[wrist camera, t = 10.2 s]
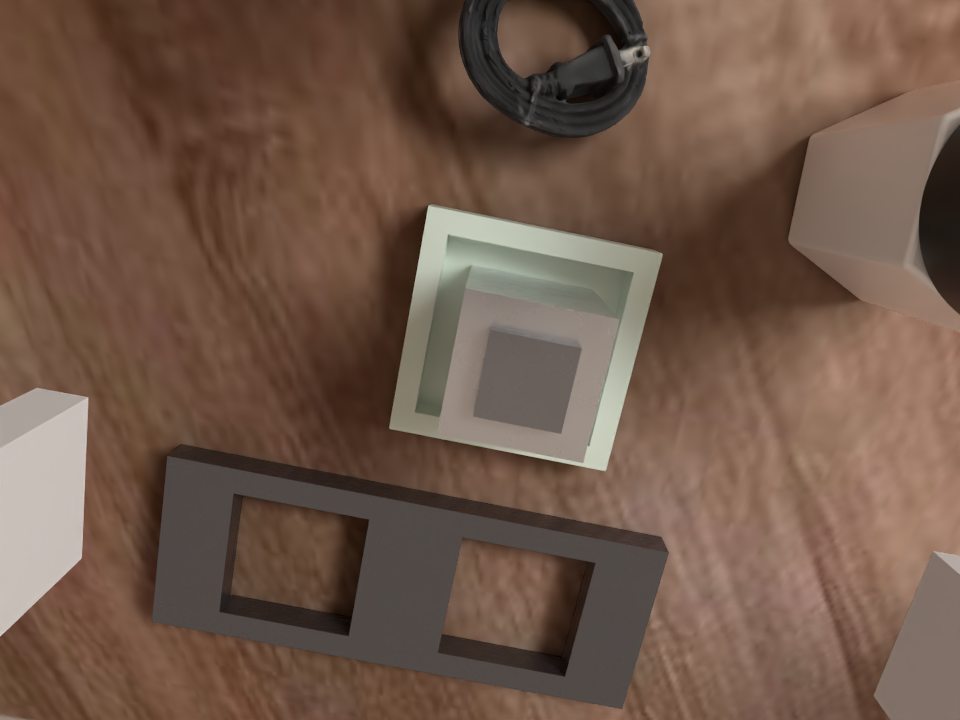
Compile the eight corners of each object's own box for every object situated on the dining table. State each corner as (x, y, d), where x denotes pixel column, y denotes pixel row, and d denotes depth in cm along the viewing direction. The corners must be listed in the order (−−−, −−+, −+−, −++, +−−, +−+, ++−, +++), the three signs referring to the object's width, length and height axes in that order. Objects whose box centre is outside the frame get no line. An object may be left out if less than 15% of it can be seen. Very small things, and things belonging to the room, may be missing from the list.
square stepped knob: (448, 381, 32) (435, 440, 25) (471, 264, 31) (464, 290, 24) (565, 404, 33) (585, 469, 25) (592, 289, 31) (622, 322, 24)
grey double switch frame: (165, 603, 36) (151, 621, 35) (181, 444, 34) (167, 456, 33) (617, 688, 37) (622, 708, 35) (661, 537, 35) (668, 552, 33)
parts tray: (394, 414, 33) (388, 428, 31) (432, 204, 31) (428, 205, 29) (599, 454, 34) (605, 471, 32) (652, 249, 31) (663, 253, 29)
